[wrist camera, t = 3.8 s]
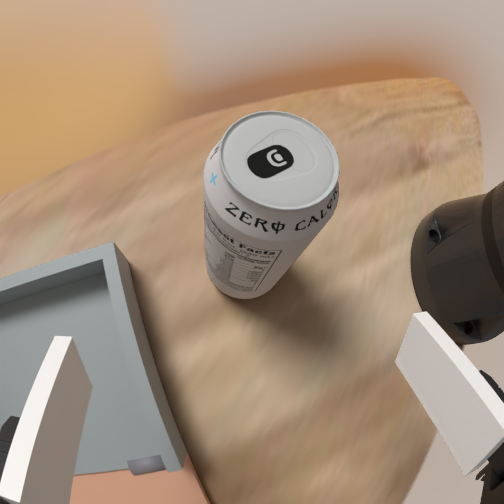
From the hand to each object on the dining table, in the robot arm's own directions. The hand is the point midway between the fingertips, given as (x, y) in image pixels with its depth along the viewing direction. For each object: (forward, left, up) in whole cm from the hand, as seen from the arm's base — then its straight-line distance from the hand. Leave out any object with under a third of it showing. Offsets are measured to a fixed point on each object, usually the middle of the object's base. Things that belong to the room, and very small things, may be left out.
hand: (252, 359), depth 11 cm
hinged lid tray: (+15, +4, -13) cm, 20 cm away
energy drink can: (-3, -7, -13) cm, 15 cm away
